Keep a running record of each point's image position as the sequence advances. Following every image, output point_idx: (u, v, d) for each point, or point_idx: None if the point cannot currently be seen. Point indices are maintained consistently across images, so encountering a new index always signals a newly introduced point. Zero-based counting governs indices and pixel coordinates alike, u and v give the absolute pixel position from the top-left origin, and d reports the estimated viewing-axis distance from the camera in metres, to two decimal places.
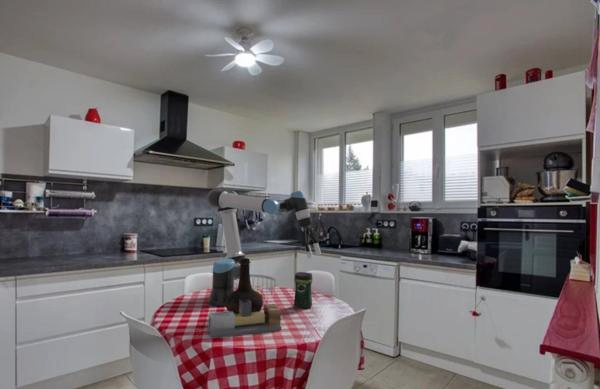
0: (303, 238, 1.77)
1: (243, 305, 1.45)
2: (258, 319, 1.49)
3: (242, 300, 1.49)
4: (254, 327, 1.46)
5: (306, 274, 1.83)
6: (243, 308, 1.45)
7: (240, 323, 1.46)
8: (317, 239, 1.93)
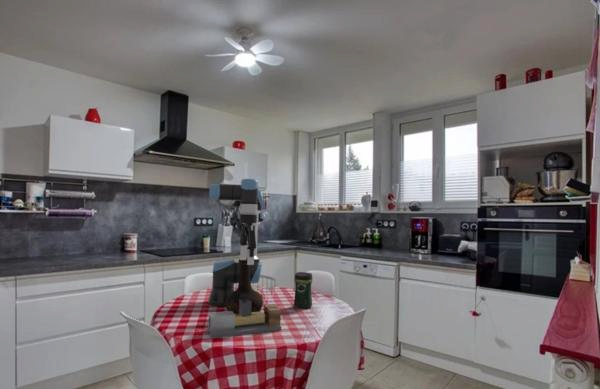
0: None
1: (243, 305, 1.45)
2: (258, 319, 1.49)
3: (242, 300, 1.49)
4: (254, 327, 1.46)
5: (306, 274, 1.83)
6: (243, 308, 1.45)
7: (240, 323, 1.46)
8: (249, 245, 1.41)
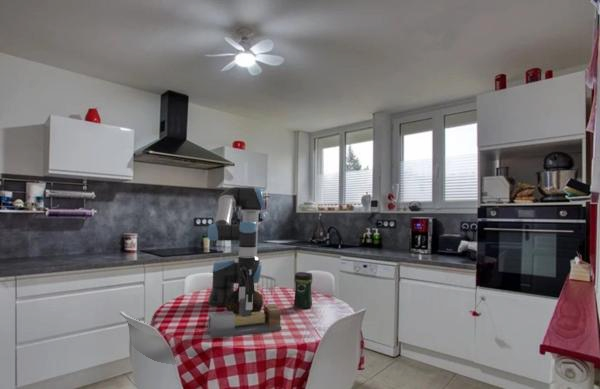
0: None
1: (243, 305, 1.45)
2: (258, 319, 1.49)
3: (242, 300, 1.49)
4: (254, 327, 1.46)
5: (306, 274, 1.83)
6: (243, 308, 1.45)
7: (240, 323, 1.46)
8: (248, 290, 1.41)
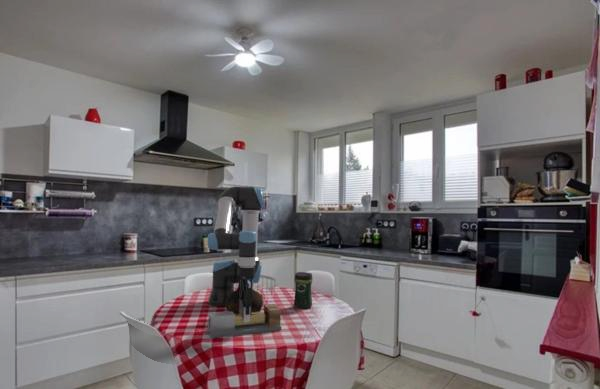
0: None
1: (243, 305, 1.45)
2: (258, 319, 1.49)
3: (242, 300, 1.49)
4: (254, 327, 1.46)
5: (306, 274, 1.83)
6: (243, 308, 1.45)
7: (240, 323, 1.46)
8: (246, 303, 1.43)
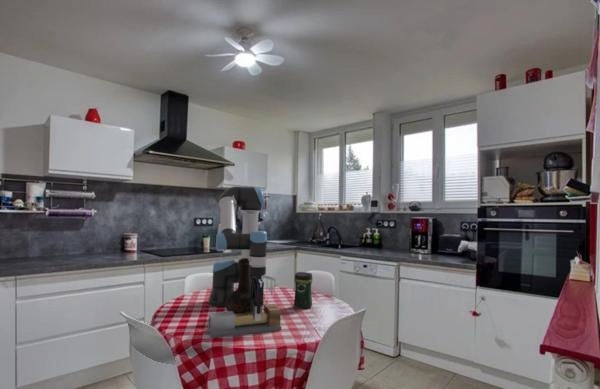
0: None
1: (254, 304, 1.47)
2: None
3: (253, 299, 1.51)
4: (254, 327, 1.46)
5: (306, 274, 1.83)
6: (254, 307, 1.47)
7: (251, 322, 1.48)
8: (257, 302, 1.45)
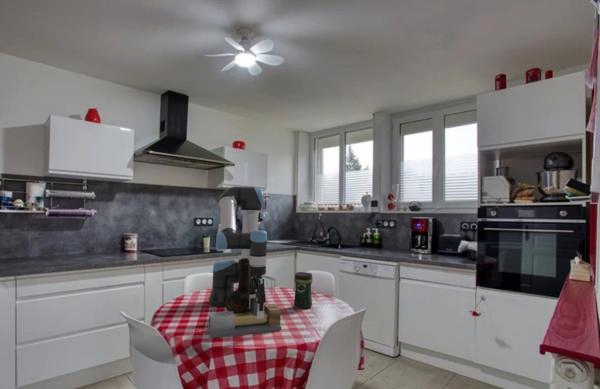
0: None
1: (254, 304, 1.47)
2: None
3: (253, 299, 1.51)
4: (254, 327, 1.46)
5: (306, 274, 1.83)
6: (254, 307, 1.47)
7: (251, 322, 1.48)
8: (259, 299, 1.42)
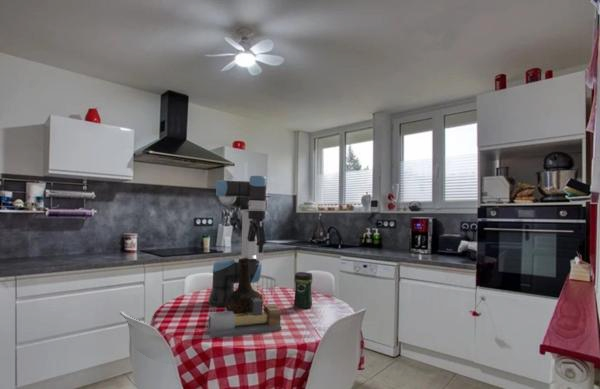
0: None
1: (254, 304, 1.47)
2: None
3: (253, 299, 1.51)
4: (254, 327, 1.46)
5: (306, 274, 1.83)
6: (254, 307, 1.47)
7: (251, 322, 1.48)
8: (259, 241, 1.43)
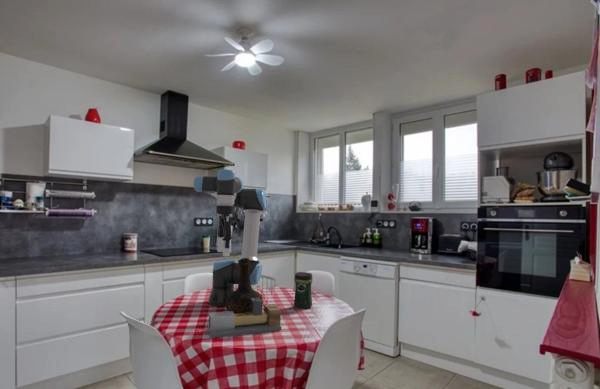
0: None
1: (254, 304, 1.47)
2: None
3: (253, 299, 1.51)
4: (254, 327, 1.46)
5: (306, 274, 1.83)
6: (254, 307, 1.47)
7: (251, 322, 1.48)
8: (225, 236, 1.40)
